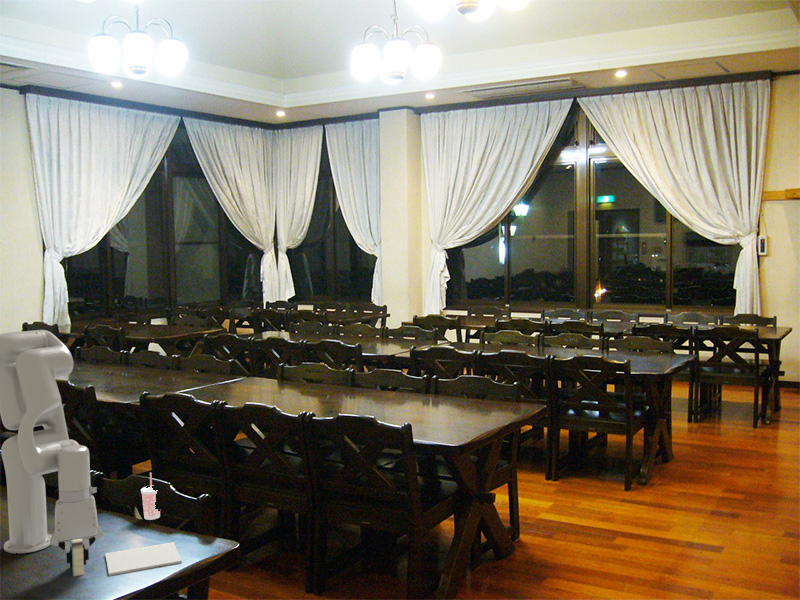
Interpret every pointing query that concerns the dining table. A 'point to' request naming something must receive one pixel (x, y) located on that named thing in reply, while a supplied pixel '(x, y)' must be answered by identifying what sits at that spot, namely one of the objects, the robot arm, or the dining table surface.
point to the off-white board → (142, 558)
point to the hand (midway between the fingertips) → (77, 563)
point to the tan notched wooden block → (77, 557)
